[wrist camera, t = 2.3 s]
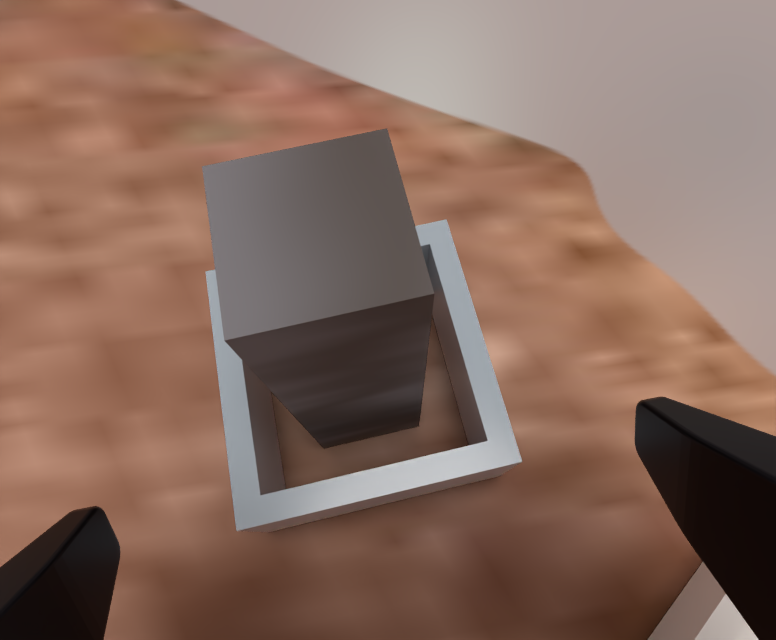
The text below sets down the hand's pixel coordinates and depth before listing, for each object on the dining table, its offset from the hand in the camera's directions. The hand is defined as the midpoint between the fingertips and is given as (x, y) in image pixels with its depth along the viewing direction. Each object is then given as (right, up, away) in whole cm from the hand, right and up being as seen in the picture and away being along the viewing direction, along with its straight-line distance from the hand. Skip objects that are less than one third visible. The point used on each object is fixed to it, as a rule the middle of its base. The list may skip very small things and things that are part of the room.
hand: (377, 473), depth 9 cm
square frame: (-1, 0, +12) cm, 12 cm away
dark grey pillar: (-1, 0, +12) cm, 12 cm away
